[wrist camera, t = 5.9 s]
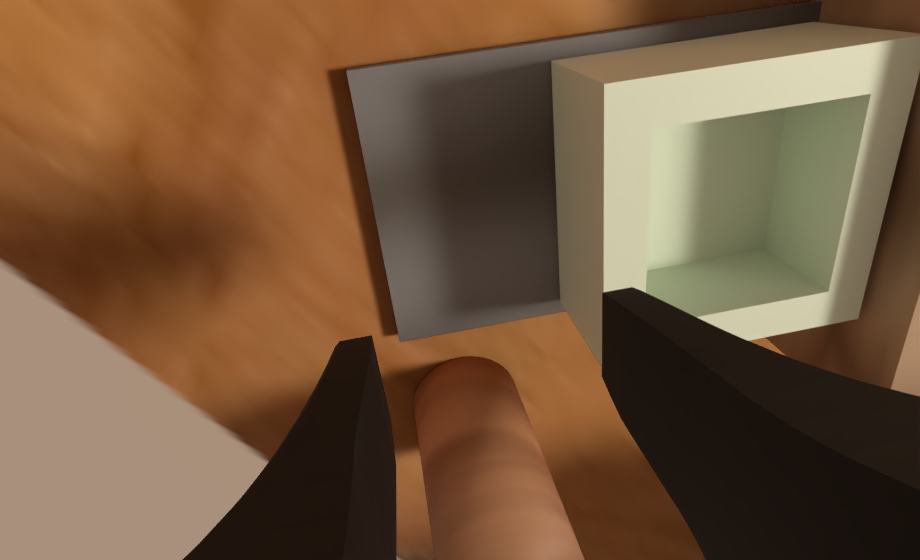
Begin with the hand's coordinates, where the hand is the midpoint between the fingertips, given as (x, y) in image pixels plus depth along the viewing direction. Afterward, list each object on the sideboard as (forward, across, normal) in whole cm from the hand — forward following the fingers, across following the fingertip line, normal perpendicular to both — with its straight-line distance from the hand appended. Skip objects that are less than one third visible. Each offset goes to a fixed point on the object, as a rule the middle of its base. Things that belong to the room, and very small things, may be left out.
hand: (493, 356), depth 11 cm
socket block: (+8, -8, 0) cm, 11 cm away
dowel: (+8, 0, +8) cm, 12 cm away
